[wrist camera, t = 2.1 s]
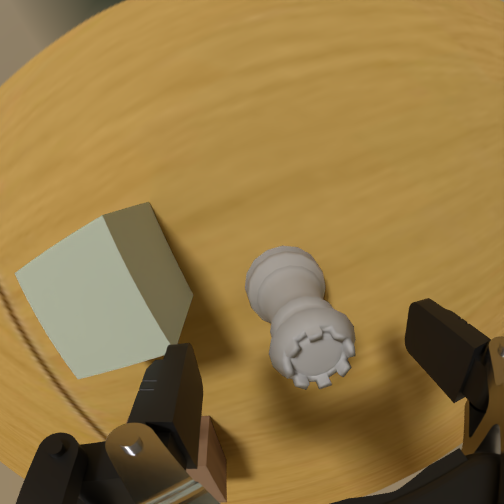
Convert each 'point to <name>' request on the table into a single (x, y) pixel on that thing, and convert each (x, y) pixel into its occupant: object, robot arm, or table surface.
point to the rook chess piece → (299, 317)
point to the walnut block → (210, 462)
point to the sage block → (109, 292)
